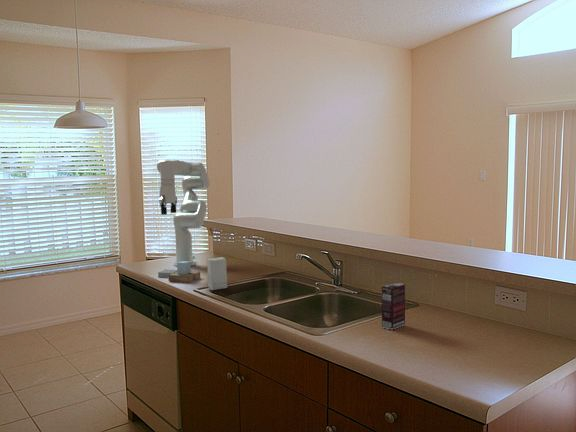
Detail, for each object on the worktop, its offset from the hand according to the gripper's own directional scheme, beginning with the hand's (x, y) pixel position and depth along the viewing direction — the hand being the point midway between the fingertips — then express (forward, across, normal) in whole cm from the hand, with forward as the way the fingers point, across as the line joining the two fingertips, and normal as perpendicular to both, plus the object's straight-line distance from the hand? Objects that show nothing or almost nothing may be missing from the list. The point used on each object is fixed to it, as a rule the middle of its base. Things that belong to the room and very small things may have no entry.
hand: (168, 213), depth 292 cm
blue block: (+30, +14, +17) cm, 37 cm away
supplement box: (+34, +62, +132) cm, 150 cm away
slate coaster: (+34, +8, +4) cm, 35 cm away
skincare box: (+34, +26, +42) cm, 60 cm away
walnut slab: (+34, +14, +17) cm, 40 cm away
